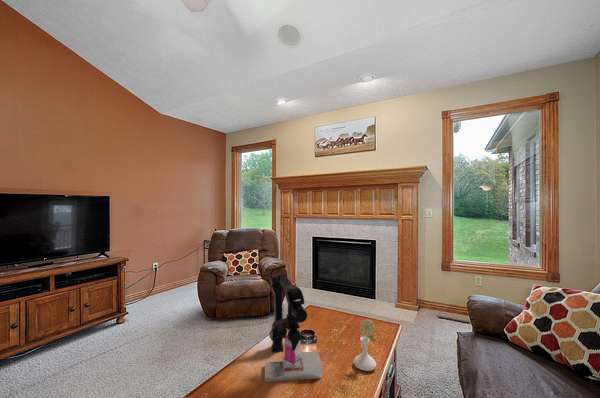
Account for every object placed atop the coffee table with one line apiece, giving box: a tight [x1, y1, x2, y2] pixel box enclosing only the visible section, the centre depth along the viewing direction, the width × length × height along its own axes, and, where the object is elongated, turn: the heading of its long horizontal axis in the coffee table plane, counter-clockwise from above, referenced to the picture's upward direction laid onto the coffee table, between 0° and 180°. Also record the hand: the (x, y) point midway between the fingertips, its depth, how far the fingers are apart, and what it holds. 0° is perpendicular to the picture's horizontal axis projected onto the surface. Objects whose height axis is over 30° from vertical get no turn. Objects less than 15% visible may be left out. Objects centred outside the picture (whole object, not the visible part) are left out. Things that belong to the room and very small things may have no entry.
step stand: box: [264, 351, 323, 383], centre depth 129 cm, size 12×27×6 cm, turn 97°
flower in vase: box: [353, 318, 377, 372], centre depth 134 cm, size 13×11×25 cm
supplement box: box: [284, 334, 302, 364], centre depth 129 cm, size 6×6×12 cm
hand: (292, 345), depth 129 cm, fingers closed on supplement box, 8 cm apart
